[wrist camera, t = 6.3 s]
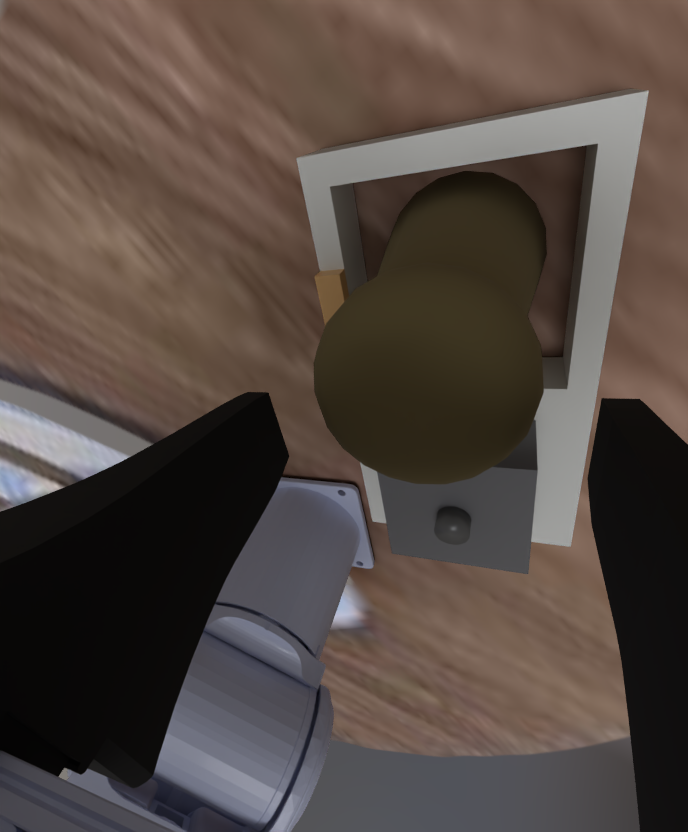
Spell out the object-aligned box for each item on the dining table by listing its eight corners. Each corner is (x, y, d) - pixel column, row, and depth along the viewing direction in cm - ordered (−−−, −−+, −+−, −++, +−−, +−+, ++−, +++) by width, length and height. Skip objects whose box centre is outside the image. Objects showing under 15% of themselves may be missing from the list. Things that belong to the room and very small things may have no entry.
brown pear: (365, 211, 17) (223, 334, 9) (526, 138, 14) (531, 220, 6) (417, 343, 20) (344, 529, 12) (561, 303, 17) (598, 515, 9)
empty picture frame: (383, 490, 27) (353, 579, 22) (322, 148, 17) (241, 178, 12) (566, 508, 23) (578, 620, 18) (630, 88, 13) (692, 95, 8)
